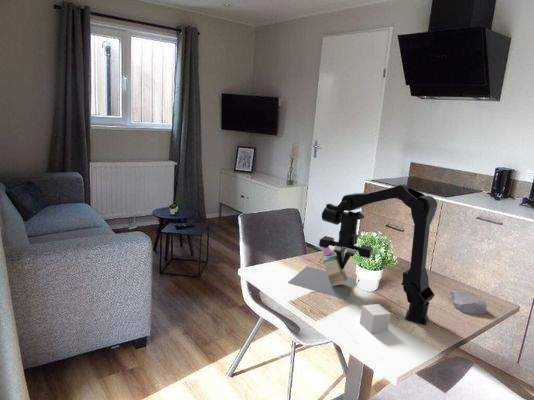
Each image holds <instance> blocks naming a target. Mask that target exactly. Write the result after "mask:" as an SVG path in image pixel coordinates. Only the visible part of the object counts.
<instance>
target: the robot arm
mask: <svg viewBox="0 0 534 400" xmlns="http://www.w3.org/2000/svg"><path fill="white" fill-rule="evenodd" d="M396 198H397V199H399V200H400V201H401V202H402V203H403V204H404V205H405V206H407V208H408V207H409V209H410V212H411V214H410V215H411V219H412V221H413V234H412V235H413V237H412V246H411V256H410V266H409V269H407V270H406V271H404V272H402V282H401V286H402V287H403V288H402V289H403V292H405V296H406V301H407V302H408V303H409V305H408V309H407V310H406V314H405V317H404V319H405V320H407V321H410V322H413V323H418V324H420V325H424V326H427V323H428V320H429V319H428V318H429V315H428V312H429V307H430V301H432V300H433V299H434V297H435V293H434V292H433V289H432V288H431V287H430V281H429V275H428V272H427V268H426V266H427V256H428V246H429V237H430V229H431V228H430V227H431V223H432V221H433V220H434V218H435V216H436V211H437V208H438V201H437V200H436V199H435V197H433V196H431V195H426V194H424V193H423V192H421V191H420V190H419V191H418V190H416V189H414V188H412V187H410V186H409V185H407V184H405V183H403V184H402V183H401V184H396V185H395V186H391V187H388V188H383V189H379V190H376V191H370V192H360V193H359V192H358V193H357V192H356V193H349V194H345V195H344V196H343V197H342V199H341V201H340V202H339V204H337V205H335V204H332V203H326V204H325V205H326V206H325V207H324V209H323V211H322V213H321V220H322V221H323V222H326V223H330V224H332V225H335V226H337V225H339V224H340V229H339V231H338V241H336V240H335V238H334V237H331V236H326V235H324V236H323V237H322V238H319V239H320V240H319V243H318V247H322V248H323V247H324V248H327V247H329V248H330V246H331V247H334V249H333V250H332V251H333V252H334V253H336V254H337V257H338V259H339V263H340V266H341V269H344V270H345V267H346V265H347V263H348V262H349V259H350V258H351V257H354V256H355V255H356V254H357V255H359V257H360V258H365V259H370V258H371V257H372V255H373V253H374V247H373V246H369V245H366V244H362V245H361V246H357V245H356V244H358V241H359V236H360V235H358V234H357V231H358V229H357V227H358V221H359V220H362V219H365V216H364V215H363V214H362V211H357V212H354V211H356V210H359V209H362V208H364V207H367V206H368V205H370V204H373V203H377V202H381V201H386V200H390V199H396ZM345 251H346V252H345Z"/></svg>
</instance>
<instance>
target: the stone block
mask: <svg viewBox="0 0 534 400" xmlns="http://www.w3.org/2000/svg"><path fill="white" fill-rule="evenodd" d="M448 297H449V298H450V300H451V302H452V304H453V306H454V308H455V309H456V310H458V311H459V312H461V313H464V314H476V315H477V314H478V315H486V313H487V304H486V302H485V301H484V300H483V299H482V298H478V297H477V296H476V295H475V293H474V292H468V291H465V290H453V291H452V290H451V291H450V292H449V293H448Z"/></svg>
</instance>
